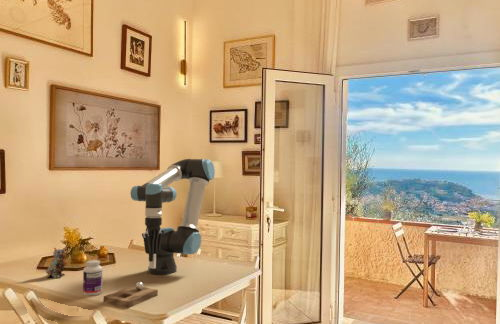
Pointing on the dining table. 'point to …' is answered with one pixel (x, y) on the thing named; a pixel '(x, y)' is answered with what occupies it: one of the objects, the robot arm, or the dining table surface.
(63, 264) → the figurine
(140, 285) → the ball
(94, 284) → the pill bottle
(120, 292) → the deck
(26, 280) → the dining table surface
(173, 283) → the dining table surface
